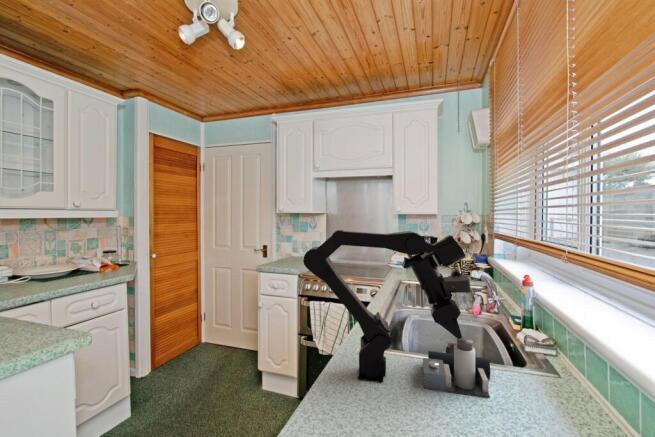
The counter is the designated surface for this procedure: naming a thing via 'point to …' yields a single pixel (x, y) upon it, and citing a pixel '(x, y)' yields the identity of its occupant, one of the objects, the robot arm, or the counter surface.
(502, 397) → the counter surface
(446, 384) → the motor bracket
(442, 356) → the pipe connector
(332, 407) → the counter surface
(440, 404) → the counter surface
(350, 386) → the counter surface
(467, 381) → the grey domed cylinder
